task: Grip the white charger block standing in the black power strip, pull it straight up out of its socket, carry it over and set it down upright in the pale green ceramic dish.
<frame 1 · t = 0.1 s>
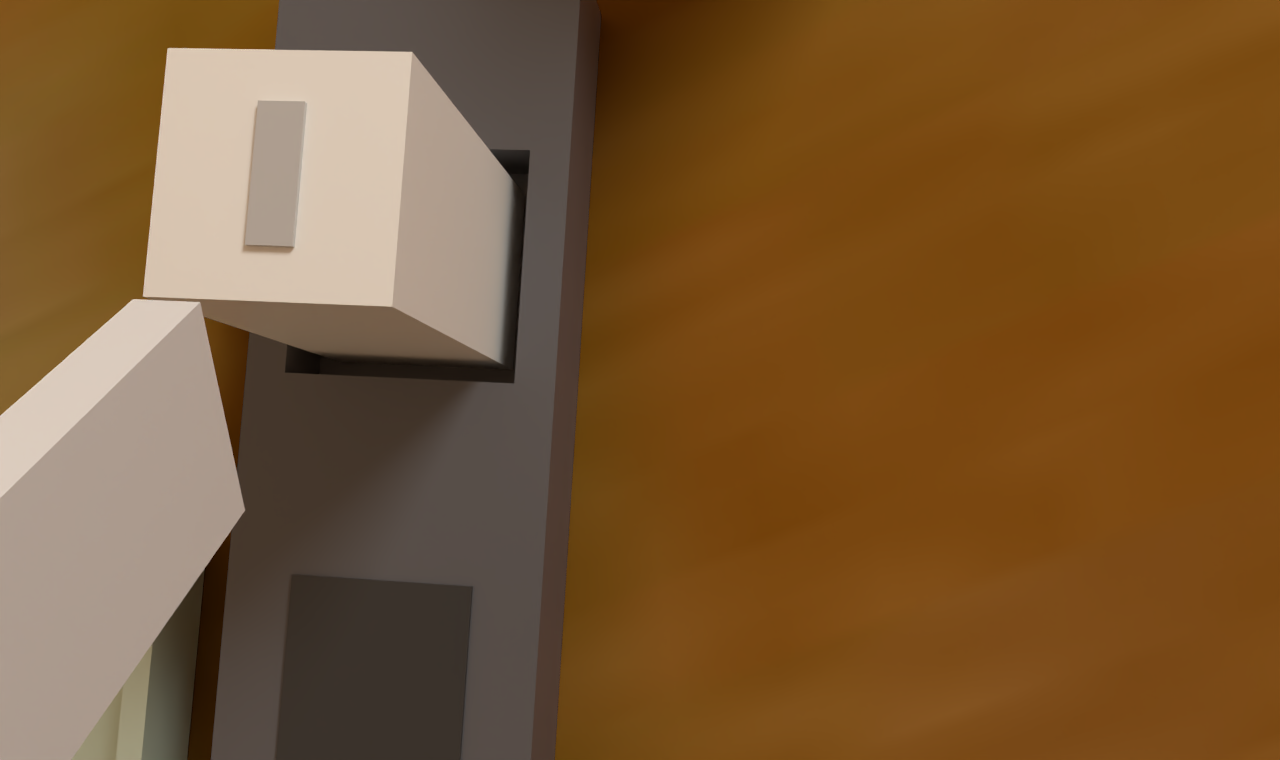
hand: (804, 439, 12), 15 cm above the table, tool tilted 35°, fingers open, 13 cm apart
charger: (432, 278, 28), point 1 cm above the table, touching power strip
power strip: (428, 489, 29), on the table
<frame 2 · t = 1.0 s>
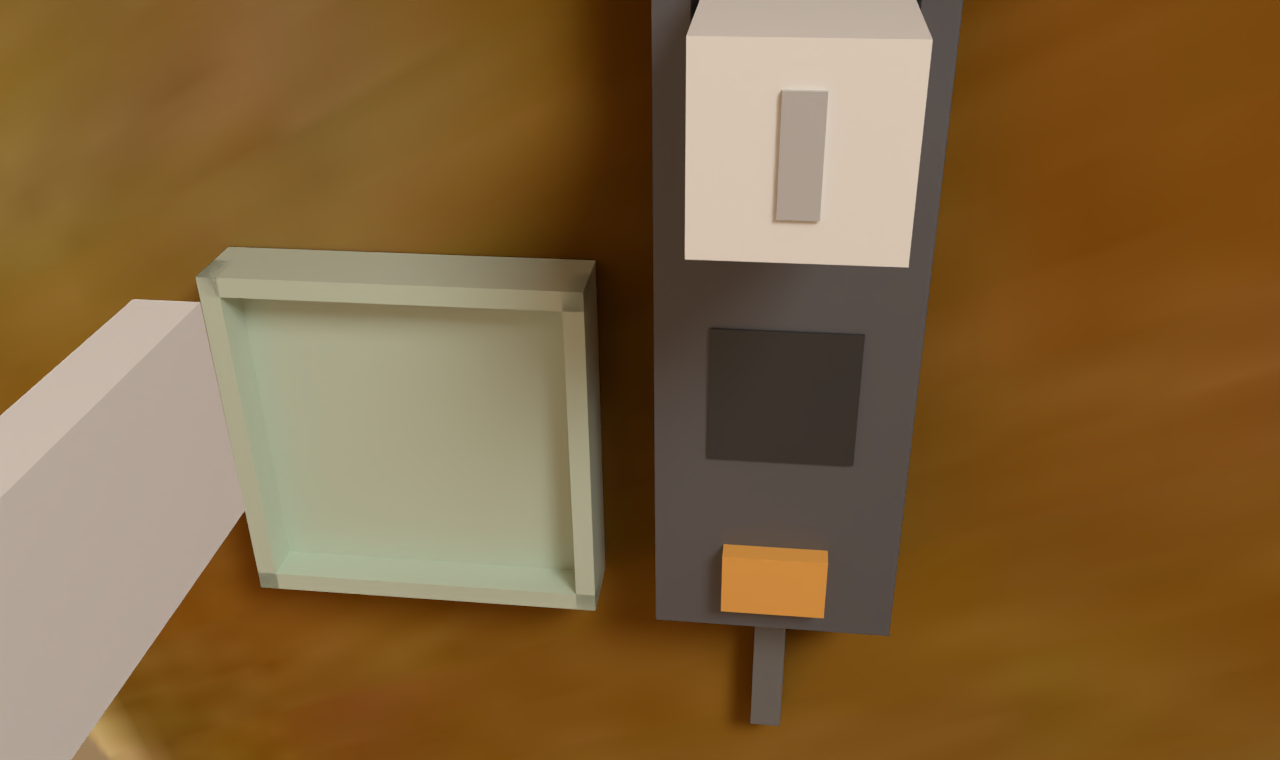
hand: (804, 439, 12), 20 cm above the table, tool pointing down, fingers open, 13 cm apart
dish: (427, 416, 37), on the table
charger: (801, 40, 29), point 1 cm above the table, touching power strip
power strip: (791, 217, 32), on the table
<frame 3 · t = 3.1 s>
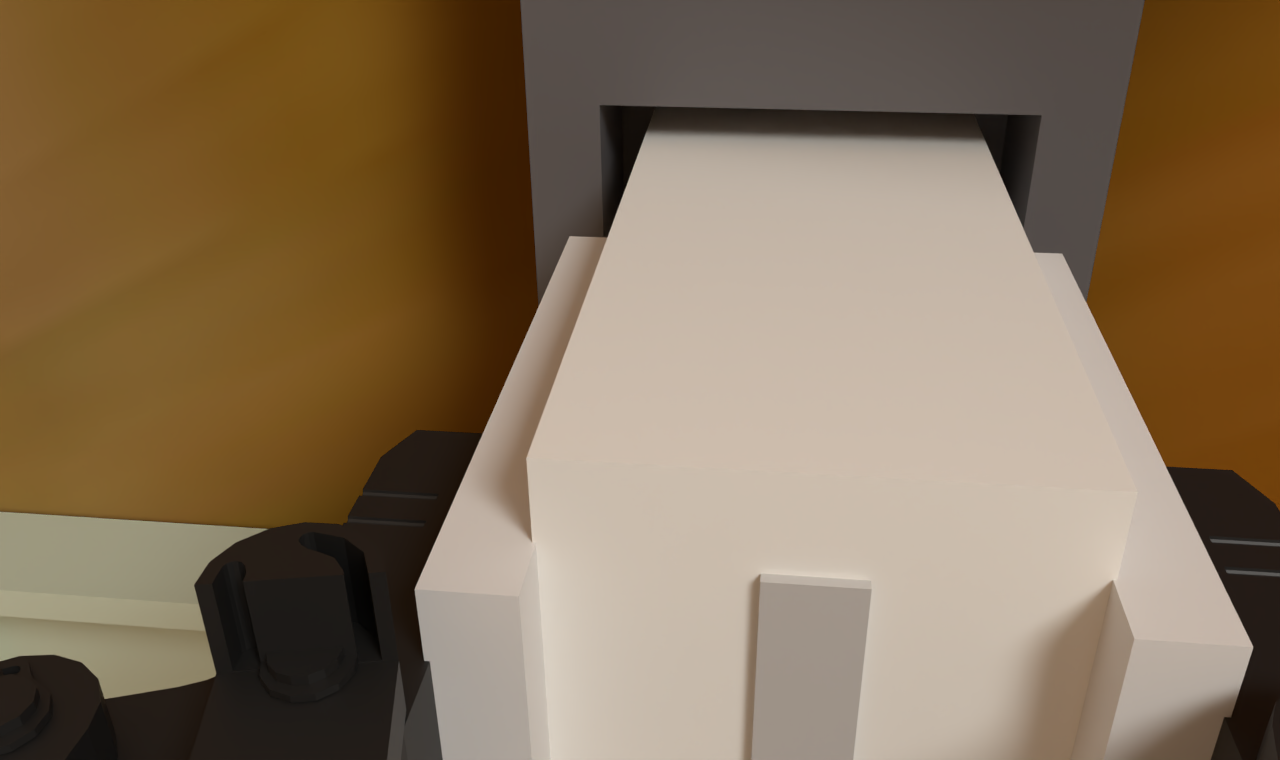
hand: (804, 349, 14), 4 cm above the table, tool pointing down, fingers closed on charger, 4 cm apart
dish: (247, 734, 25), on the table
charger: (803, 247, 17), point 1 cm above the table, touching gripper, power strip
power strip: (786, 492, 20), on the table
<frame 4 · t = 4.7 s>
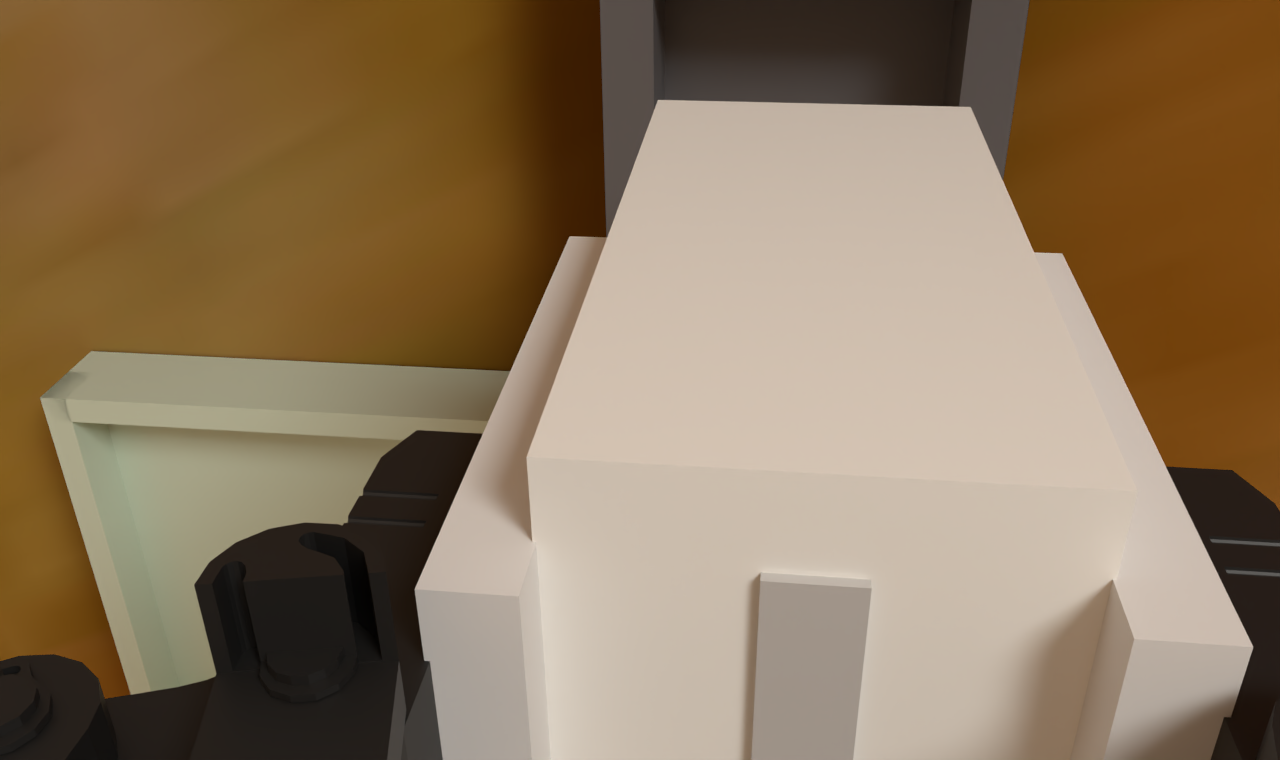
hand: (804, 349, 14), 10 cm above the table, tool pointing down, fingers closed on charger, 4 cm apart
dish: (344, 549, 30), on the table
charger: (803, 246, 17), point 7 cm above the table, touching gripper
power strip: (788, 324, 26), on the table
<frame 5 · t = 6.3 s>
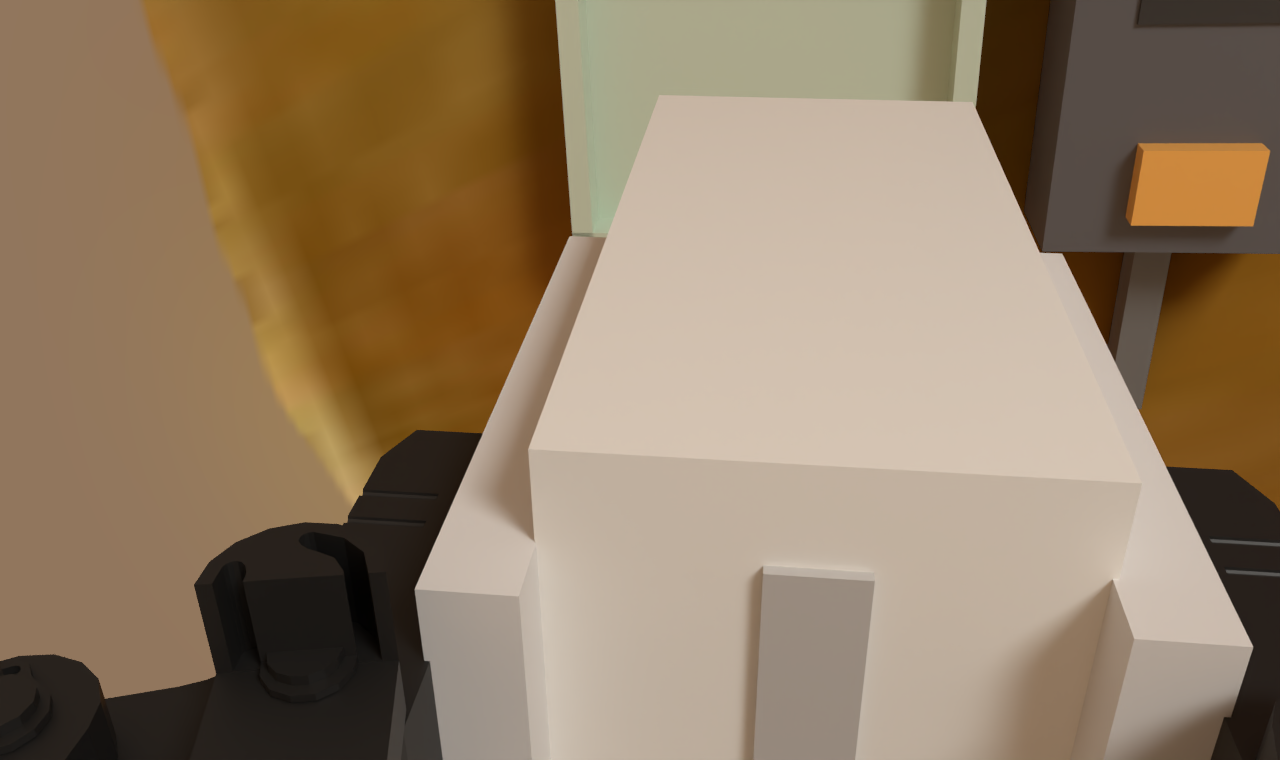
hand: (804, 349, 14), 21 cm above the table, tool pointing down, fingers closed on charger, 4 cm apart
dish: (767, 40, 33), on the table
charger: (804, 242, 17), point 18 cm above the table, touching gripper
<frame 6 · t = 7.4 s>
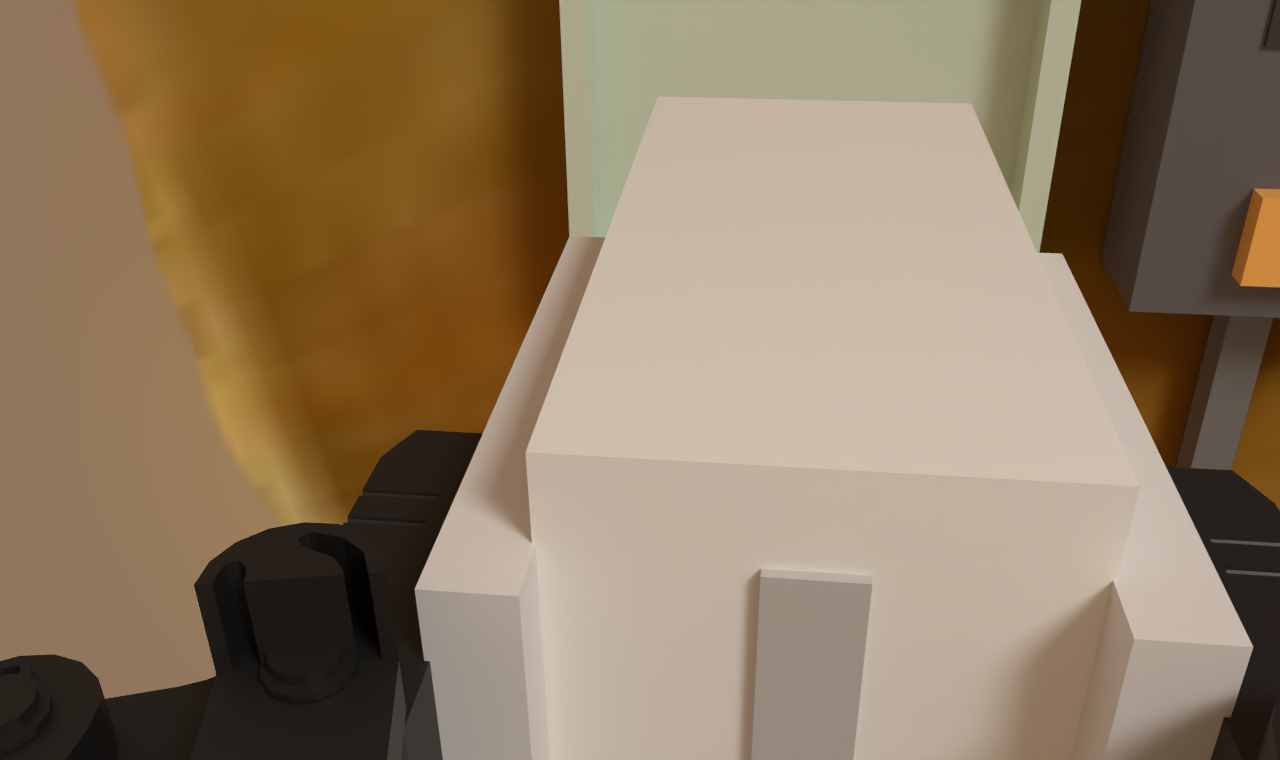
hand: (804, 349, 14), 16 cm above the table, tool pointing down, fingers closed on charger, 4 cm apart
dish: (808, 51, 28), on the table
charger: (803, 244, 17), point 12 cm above the table, touching gripper
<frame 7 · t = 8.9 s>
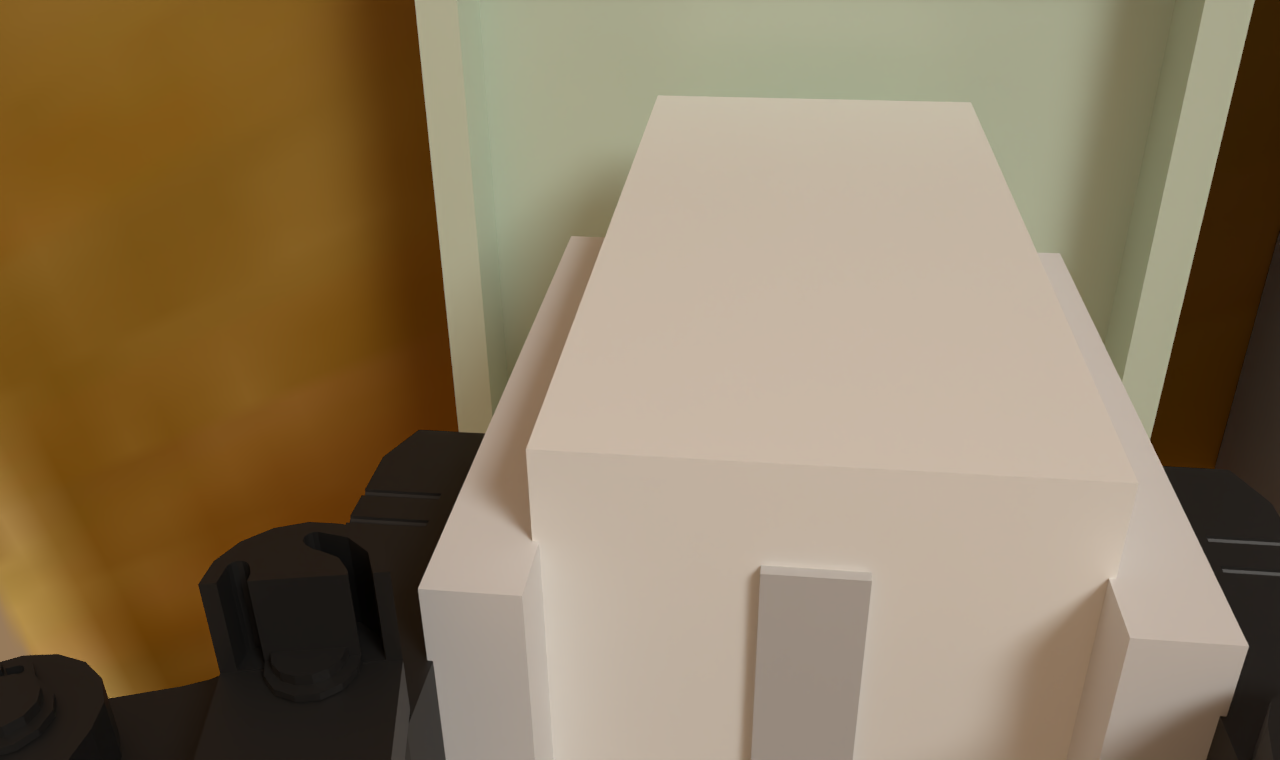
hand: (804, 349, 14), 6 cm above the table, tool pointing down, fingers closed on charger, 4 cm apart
dish: (802, 186, 19), on the table
charger: (803, 242, 17), point 3 cm above the table, touching gripper
when the fingers open (6 cm above the table, at t = 9.0 s): charger drops 1 cm, resting on dish.
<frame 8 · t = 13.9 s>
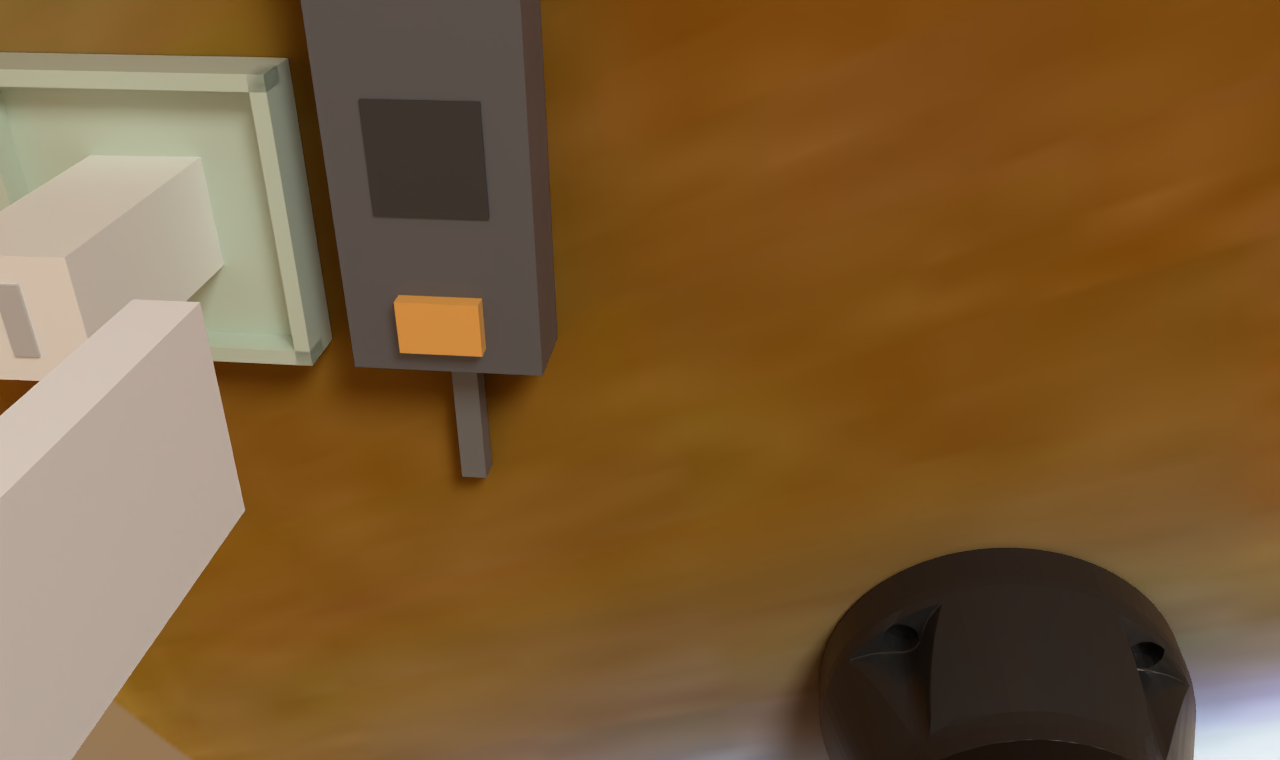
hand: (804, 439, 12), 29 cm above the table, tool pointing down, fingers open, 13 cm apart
dish: (170, 202, 44), on the table
charger: (158, 211, 43), point 1 cm above the table, touching dish
power strip: (438, 16, 40), on the table
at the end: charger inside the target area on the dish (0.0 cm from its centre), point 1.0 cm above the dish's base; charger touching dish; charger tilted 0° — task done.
